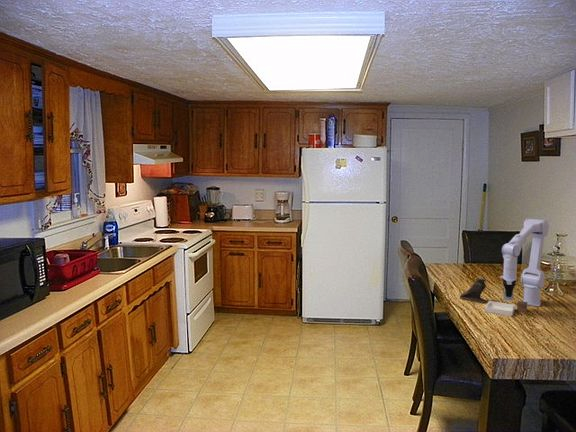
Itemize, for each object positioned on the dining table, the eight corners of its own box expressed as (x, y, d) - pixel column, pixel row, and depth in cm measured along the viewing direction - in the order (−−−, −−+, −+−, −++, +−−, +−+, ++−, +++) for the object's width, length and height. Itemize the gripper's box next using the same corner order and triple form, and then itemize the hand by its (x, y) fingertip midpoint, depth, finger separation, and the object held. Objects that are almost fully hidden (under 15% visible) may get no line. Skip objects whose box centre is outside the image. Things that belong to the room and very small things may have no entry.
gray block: (512, 298, 216) (513, 290, 216) (512, 300, 213) (513, 292, 212) (503, 297, 218) (504, 289, 217) (503, 299, 214) (503, 291, 214)
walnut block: (518, 308, 222) (518, 300, 221) (527, 309, 220) (527, 302, 219) (517, 310, 218) (517, 302, 218) (526, 312, 216) (526, 304, 216)
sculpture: (483, 304, 229) (484, 279, 228) (458, 298, 239) (460, 275, 237) (487, 301, 233) (489, 277, 232) (463, 296, 243) (464, 273, 241)
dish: (489, 305, 226) (489, 300, 226) (515, 309, 220) (515, 304, 219) (484, 312, 216) (485, 307, 216) (512, 316, 210) (512, 311, 210)
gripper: (501, 264, 222) (500, 290, 223) (500, 270, 209) (499, 298, 210) (517, 265, 218) (516, 292, 220) (517, 272, 206) (515, 300, 207)
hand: (508, 295), depth 215 cm, fingers closed on gray block, 4 cm apart
